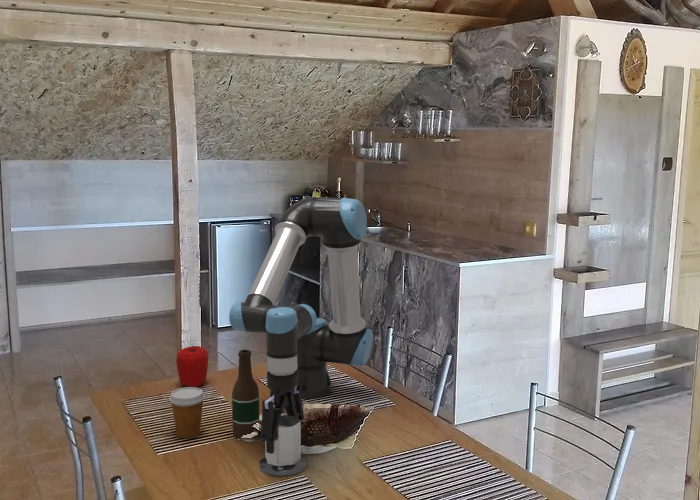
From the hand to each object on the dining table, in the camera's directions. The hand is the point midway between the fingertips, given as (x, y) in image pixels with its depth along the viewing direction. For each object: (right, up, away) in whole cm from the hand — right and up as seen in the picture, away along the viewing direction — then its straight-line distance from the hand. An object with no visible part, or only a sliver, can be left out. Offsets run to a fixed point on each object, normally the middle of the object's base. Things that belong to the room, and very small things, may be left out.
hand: (283, 456), depth 178 cm
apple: (-35, +7, +56) cm, 66 cm away
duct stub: (0, -2, 0) cm, 2 cm away
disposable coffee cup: (-28, +1, +18) cm, 34 cm away
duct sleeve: (0, 0, 0) cm, 0 cm away
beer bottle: (-12, +1, +19) cm, 22 cm away
